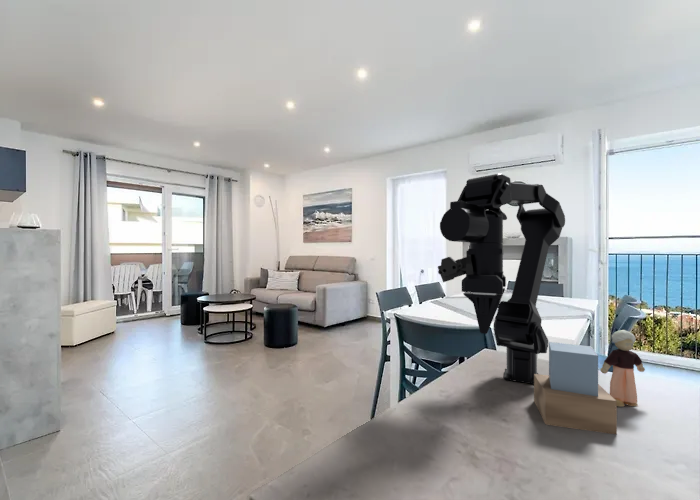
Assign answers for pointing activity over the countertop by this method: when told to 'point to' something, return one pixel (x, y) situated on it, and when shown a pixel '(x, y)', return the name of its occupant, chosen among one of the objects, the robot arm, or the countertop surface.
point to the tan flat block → (575, 408)
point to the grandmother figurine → (623, 369)
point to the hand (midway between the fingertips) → (485, 328)
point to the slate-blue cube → (573, 368)
